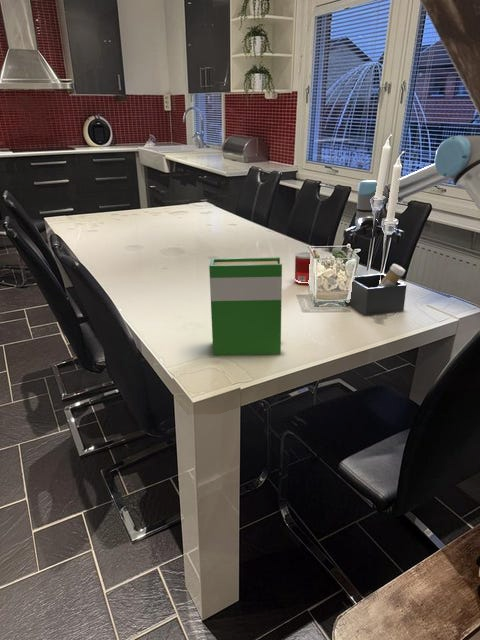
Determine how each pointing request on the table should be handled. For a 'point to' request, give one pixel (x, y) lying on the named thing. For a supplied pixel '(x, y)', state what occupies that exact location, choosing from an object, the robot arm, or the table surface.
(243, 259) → the hardback book
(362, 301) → the black open box
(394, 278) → the sprinkles bottle
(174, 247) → the table surface
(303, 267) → the canned food
